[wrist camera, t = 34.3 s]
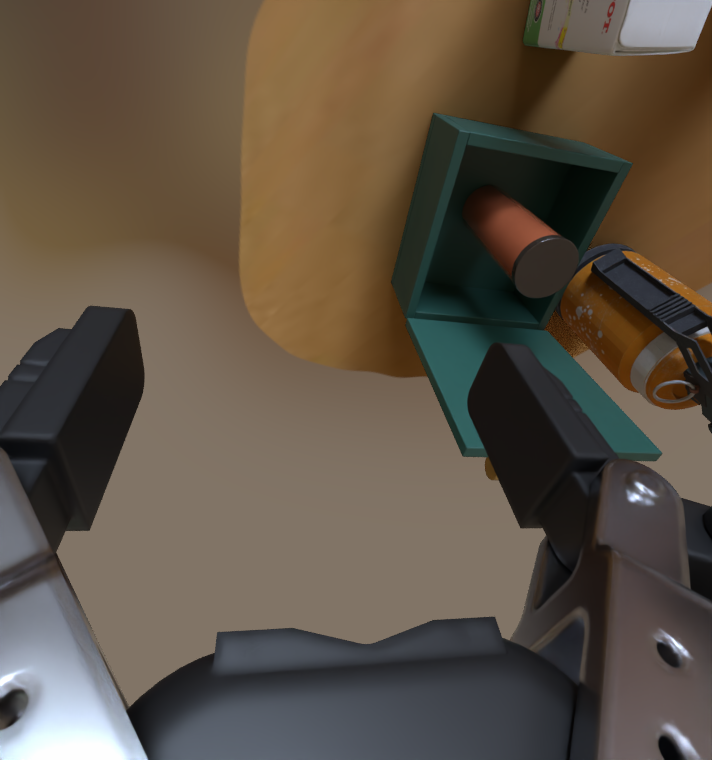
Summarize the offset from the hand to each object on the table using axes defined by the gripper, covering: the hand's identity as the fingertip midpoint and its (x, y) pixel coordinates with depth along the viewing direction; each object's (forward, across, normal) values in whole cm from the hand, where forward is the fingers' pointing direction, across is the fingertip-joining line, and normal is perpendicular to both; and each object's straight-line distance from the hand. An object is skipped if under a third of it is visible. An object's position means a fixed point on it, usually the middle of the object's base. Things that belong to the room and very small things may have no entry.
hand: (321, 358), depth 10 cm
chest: (+30, -17, +5) cm, 35 cm away
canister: (+30, -31, +9) cm, 44 cm away
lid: (+15, -17, +12) cm, 26 cm away
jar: (+29, -17, +4) cm, 34 cm away
